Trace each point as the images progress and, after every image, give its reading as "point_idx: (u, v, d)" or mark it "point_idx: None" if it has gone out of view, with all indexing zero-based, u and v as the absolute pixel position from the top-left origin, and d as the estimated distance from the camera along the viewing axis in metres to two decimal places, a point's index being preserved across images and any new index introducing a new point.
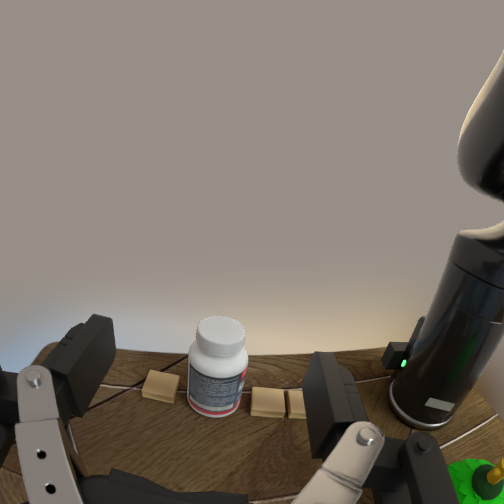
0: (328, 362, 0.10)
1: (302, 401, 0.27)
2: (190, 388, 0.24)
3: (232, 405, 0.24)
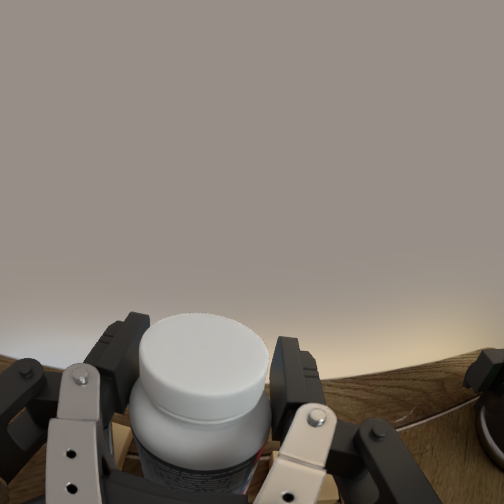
0: (290, 346, 0.10)
1: None
2: (142, 467, 0.09)
3: None
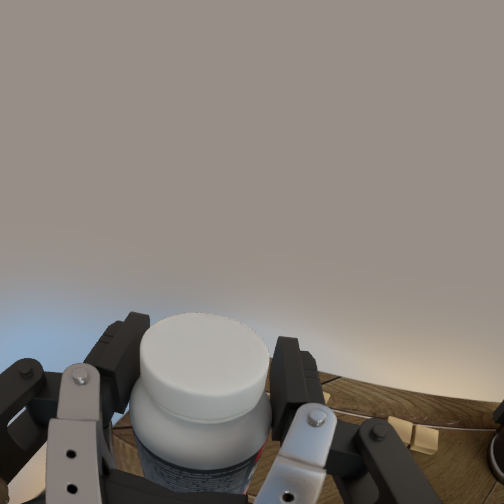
0: (290, 346, 0.10)
1: (425, 436, 0.23)
2: (142, 467, 0.09)
3: None
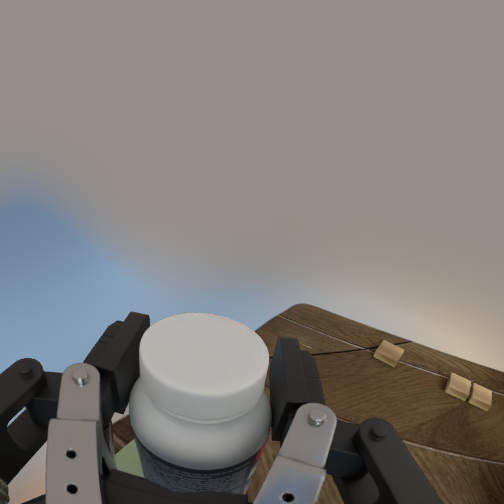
0: (290, 346, 0.10)
1: (481, 393, 0.24)
2: (142, 467, 0.09)
3: None
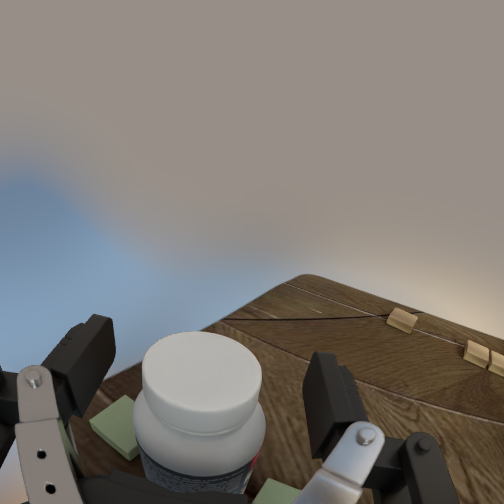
0: (328, 362, 0.10)
1: (500, 360, 0.23)
2: (145, 472, 0.10)
3: None
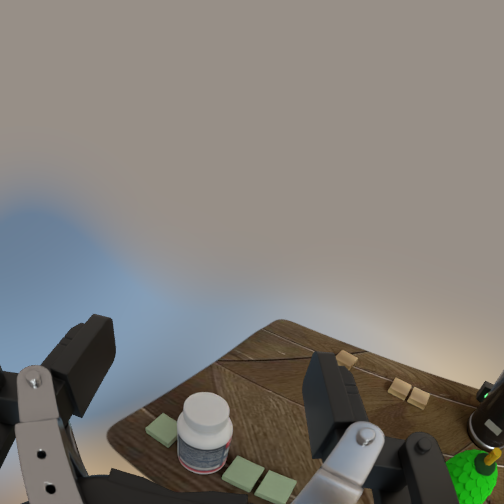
0: (328, 362, 0.10)
1: (418, 395, 0.36)
2: (179, 451, 0.23)
3: (219, 465, 0.23)
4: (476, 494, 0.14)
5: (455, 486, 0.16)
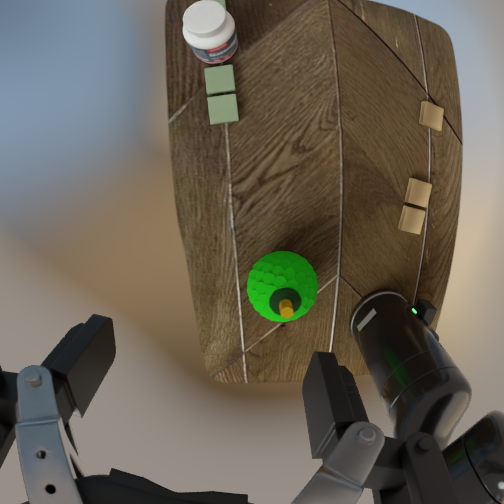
0: (328, 362, 0.10)
1: (414, 218, 0.34)
2: None
3: (208, 60, 0.28)
4: (254, 297, 0.32)
5: (262, 271, 0.32)
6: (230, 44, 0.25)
